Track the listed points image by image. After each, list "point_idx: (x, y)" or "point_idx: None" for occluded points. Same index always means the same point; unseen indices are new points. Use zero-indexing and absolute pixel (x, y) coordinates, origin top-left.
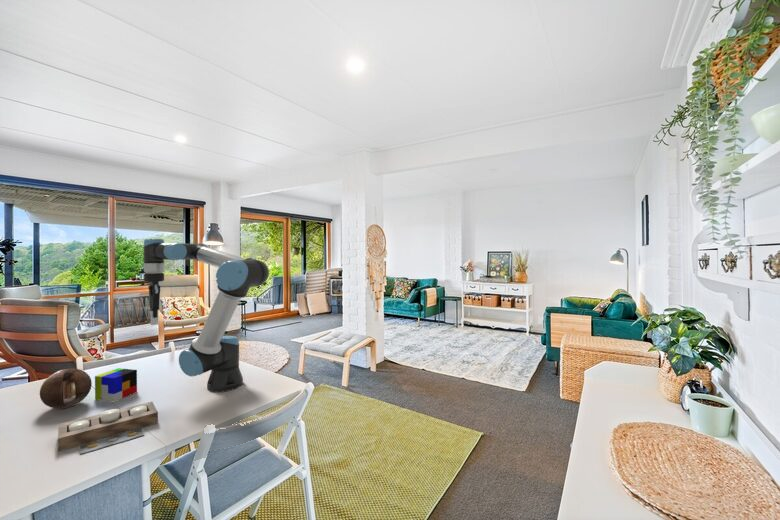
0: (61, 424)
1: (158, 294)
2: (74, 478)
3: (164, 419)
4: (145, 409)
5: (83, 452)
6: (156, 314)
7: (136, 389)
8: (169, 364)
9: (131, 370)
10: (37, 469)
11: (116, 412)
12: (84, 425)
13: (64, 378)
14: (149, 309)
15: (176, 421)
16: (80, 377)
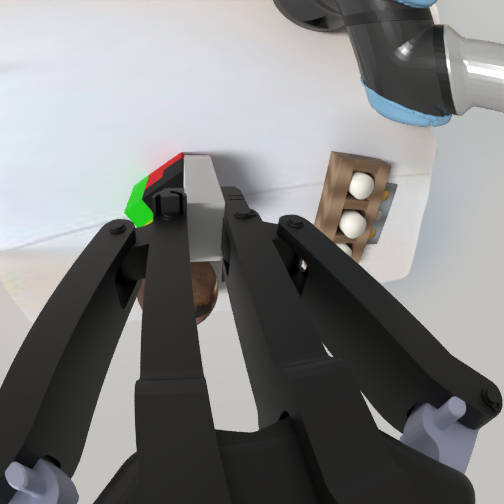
0: None
1: (436, 359)
2: (409, 246)
3: (376, 148)
4: (372, 179)
5: (377, 241)
6: (244, 203)
7: (182, 155)
8: (4, 75)
9: (175, 184)
10: (367, 271)
11: (364, 220)
12: (351, 251)
13: (208, 311)
14: (223, 281)
15: (396, 139)
16: (203, 287)
